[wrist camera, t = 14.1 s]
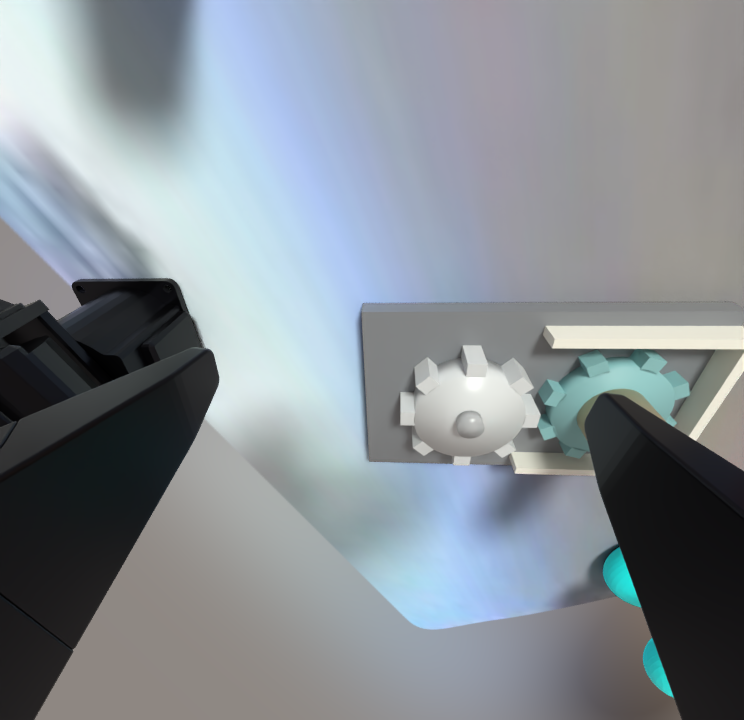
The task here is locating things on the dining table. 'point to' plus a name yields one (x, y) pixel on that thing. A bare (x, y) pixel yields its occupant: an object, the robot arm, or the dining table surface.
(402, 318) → the carrier plate
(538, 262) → the dining table surface
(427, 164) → the dining table surface
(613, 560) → the donuts
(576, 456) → the gear
